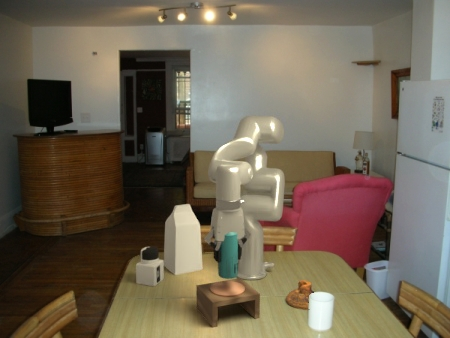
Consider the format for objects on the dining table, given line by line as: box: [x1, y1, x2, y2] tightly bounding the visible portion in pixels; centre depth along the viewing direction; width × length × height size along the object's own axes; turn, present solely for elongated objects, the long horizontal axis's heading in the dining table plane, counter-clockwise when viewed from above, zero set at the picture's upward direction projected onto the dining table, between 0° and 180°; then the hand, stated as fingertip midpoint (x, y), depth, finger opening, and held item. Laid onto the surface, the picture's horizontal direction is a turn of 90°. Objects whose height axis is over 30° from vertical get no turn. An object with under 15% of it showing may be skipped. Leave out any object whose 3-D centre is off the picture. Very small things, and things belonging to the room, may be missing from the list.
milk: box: [163, 203, 204, 276], centre depth 191 cm, size 12×12×26 cm
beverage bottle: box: [217, 232, 239, 280], centre depth 150 cm, size 6×7×20 cm
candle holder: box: [285, 280, 315, 310], centre depth 162 cm, size 12×12×7 cm
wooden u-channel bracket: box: [195, 277, 261, 328], centre depth 153 cm, size 16×14×9 cm
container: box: [135, 246, 165, 287], centre depth 178 cm, size 8×8×13 cm
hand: (227, 259), depth 151 cm, fingers closed on beverage bottle, 6 cm apart
